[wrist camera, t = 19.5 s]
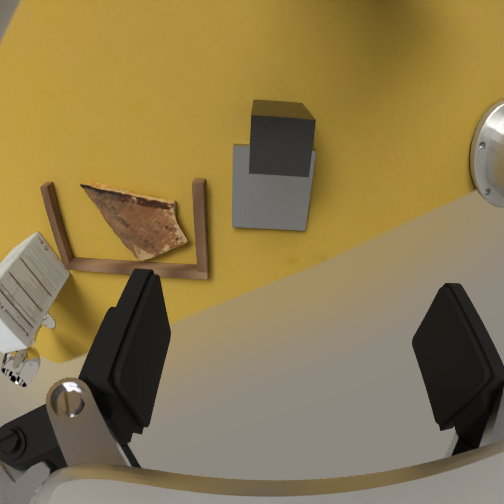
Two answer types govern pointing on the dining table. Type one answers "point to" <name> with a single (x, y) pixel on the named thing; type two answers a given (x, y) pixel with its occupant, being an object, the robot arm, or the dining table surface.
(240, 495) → the robot arm
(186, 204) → the dining table surface
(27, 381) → the wineglass
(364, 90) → the dining table surface
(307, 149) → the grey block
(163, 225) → the shard
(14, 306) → the supplement box
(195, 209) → the frame
